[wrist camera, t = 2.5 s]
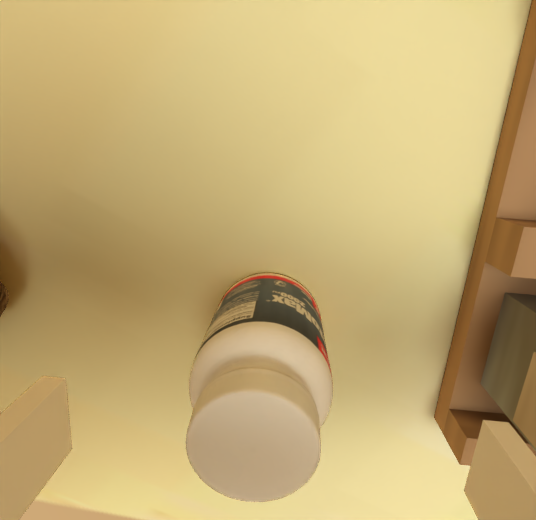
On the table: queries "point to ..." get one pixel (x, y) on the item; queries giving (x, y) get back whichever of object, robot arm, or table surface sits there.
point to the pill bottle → (260, 391)
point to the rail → (500, 287)
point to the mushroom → (3, 298)
